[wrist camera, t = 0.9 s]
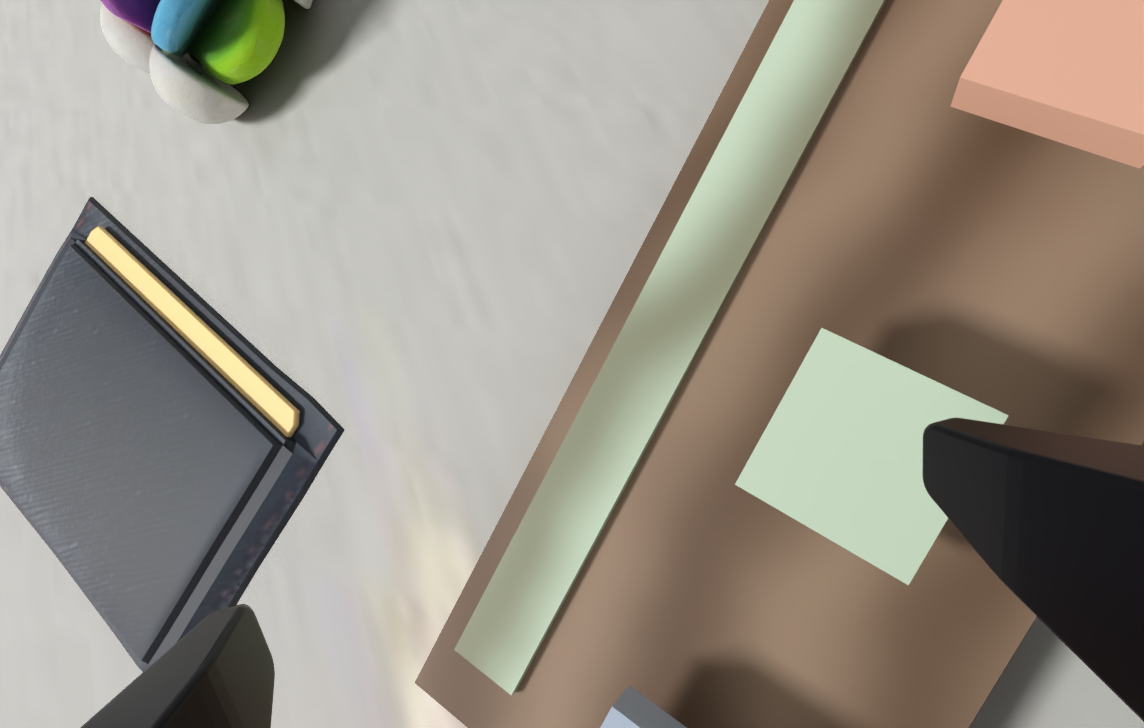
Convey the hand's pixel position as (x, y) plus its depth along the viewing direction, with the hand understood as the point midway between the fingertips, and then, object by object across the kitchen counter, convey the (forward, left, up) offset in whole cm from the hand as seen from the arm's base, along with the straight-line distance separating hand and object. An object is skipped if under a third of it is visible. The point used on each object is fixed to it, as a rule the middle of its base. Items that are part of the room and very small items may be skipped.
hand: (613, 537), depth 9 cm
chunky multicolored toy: (+29, -6, -15) cm, 33 cm away
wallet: (+25, +13, -15) cm, 32 cm away
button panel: (-1, -2, -14) cm, 15 cm away
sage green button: (-2, -2, -11) cm, 11 cm away
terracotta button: (-2, -13, -11) cm, 17 cm away
